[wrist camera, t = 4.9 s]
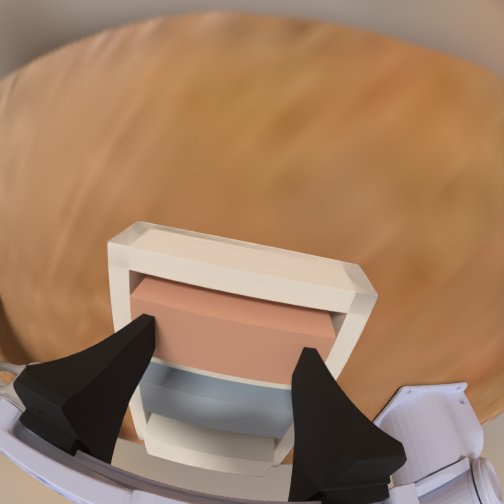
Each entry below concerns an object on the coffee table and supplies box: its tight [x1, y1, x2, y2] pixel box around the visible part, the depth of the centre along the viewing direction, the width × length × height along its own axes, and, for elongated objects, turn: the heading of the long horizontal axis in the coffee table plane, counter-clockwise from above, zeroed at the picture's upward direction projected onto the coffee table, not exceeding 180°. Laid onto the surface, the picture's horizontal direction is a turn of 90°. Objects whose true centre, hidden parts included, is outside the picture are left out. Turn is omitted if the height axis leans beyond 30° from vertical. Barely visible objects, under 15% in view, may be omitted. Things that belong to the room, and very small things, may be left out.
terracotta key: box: [130, 274, 336, 385], centre depth 14 cm, size 10×4×2 cm, turn 79°
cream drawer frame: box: [108, 221, 378, 467], centre depth 17 cm, size 13×20×4 cm, turn 169°
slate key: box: [139, 361, 293, 438], centre depth 16 cm, size 10×4×2 cm, turn 79°
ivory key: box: [143, 413, 274, 477], centre depth 17 cm, size 10×4×2 cm, turn 79°
